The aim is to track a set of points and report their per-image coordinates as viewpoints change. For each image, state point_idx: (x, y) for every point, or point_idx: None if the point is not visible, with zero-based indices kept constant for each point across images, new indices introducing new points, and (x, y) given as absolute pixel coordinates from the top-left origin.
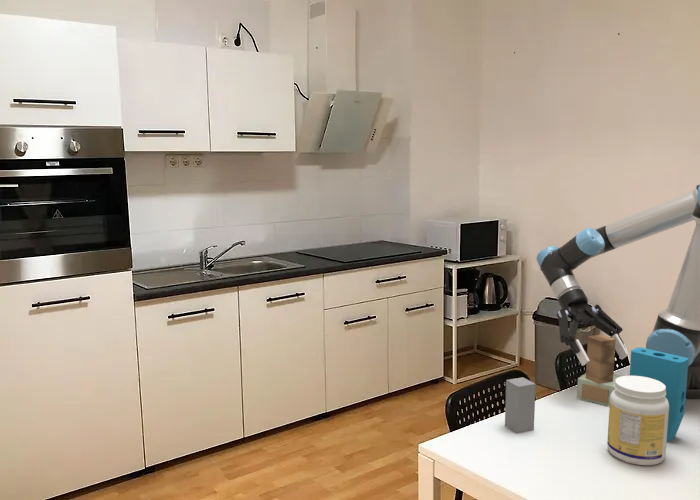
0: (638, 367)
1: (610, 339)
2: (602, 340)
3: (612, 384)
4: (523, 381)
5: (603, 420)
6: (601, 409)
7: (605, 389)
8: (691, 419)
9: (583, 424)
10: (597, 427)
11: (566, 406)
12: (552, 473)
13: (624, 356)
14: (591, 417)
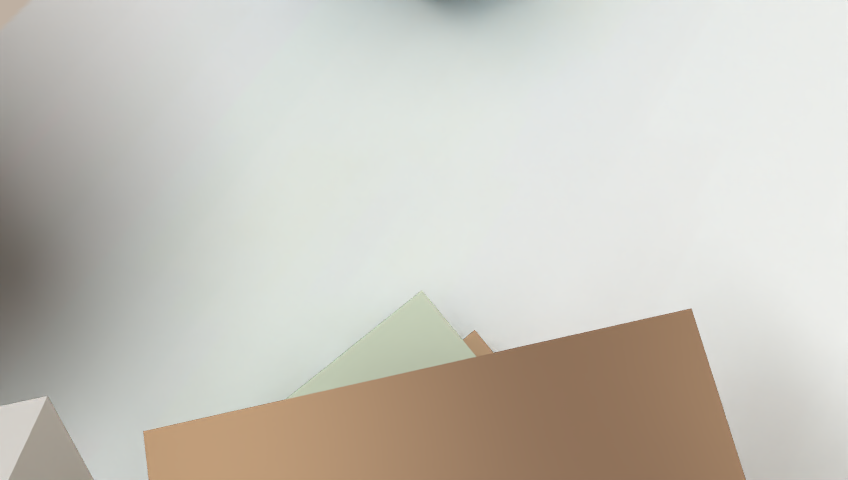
0: None
1: (310, 441)
2: (613, 387)
3: (401, 361)
4: None
5: (644, 116)
6: (551, 304)
7: (491, 350)
8: (20, 33)
9: (826, 79)
10: (746, 22)
11: (823, 420)
12: None
13: (75, 450)
14: (709, 178)
